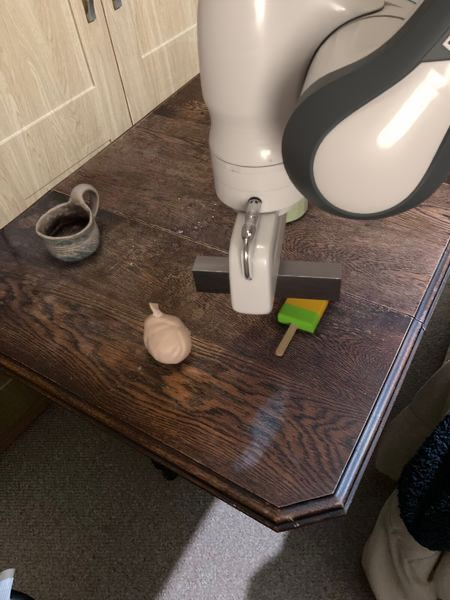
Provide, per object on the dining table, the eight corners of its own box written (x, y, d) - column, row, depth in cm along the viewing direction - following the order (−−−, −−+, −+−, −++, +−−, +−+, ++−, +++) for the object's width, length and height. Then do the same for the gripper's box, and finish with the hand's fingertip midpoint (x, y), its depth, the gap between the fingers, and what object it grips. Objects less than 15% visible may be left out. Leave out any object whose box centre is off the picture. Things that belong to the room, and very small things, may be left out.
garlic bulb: (195, 333, 70) (186, 295, 65) (194, 370, 66) (185, 333, 60) (149, 337, 71) (137, 299, 65) (146, 374, 66) (132, 337, 61)
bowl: (309, 191, 91) (310, 162, 87) (305, 227, 84) (306, 198, 80) (253, 189, 93) (251, 161, 89) (244, 225, 86) (241, 196, 82)
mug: (38, 264, 84) (14, 217, 77) (78, 220, 92) (60, 173, 84) (86, 275, 81) (66, 227, 74) (123, 228, 89) (108, 180, 81)
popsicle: (336, 290, 74) (336, 281, 72) (297, 366, 65) (297, 357, 64) (301, 280, 76) (301, 271, 74) (259, 352, 67) (258, 343, 66)
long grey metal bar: (339, 285, 55) (342, 262, 52) (339, 301, 53) (341, 278, 51) (200, 277, 58) (196, 255, 55) (196, 292, 56) (191, 270, 54)
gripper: (285, 246, 37) (286, 356, 47) (304, 114, 50) (302, 222, 60) (203, 242, 38) (221, 350, 48) (244, 114, 52) (251, 220, 62)
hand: (266, 278), depth 54 cm, fingers closed on long grey metal bar, 2 cm apart
